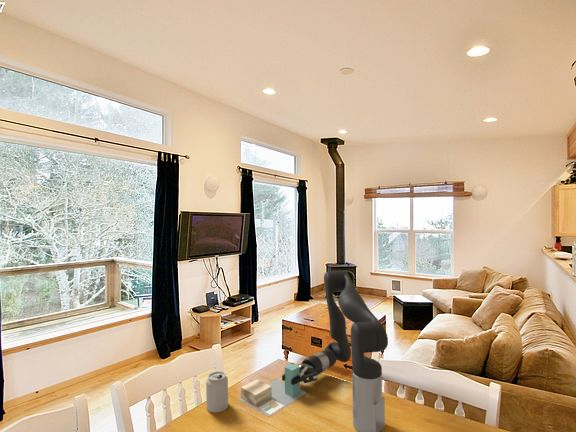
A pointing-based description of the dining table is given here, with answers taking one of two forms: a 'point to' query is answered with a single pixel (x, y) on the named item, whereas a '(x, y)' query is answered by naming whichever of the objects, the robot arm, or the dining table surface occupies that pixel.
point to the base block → (256, 392)
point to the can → (217, 392)
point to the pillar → (290, 373)
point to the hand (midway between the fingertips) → (287, 380)
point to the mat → (275, 399)
